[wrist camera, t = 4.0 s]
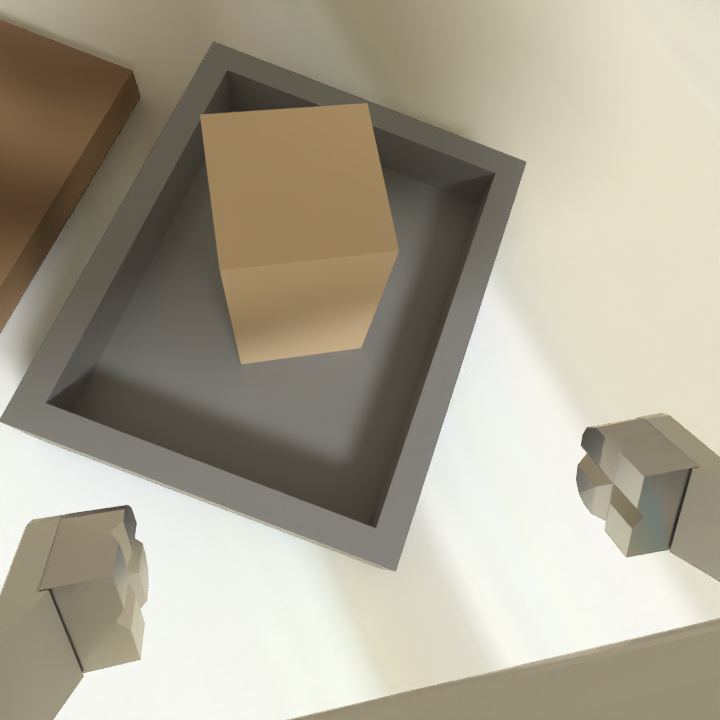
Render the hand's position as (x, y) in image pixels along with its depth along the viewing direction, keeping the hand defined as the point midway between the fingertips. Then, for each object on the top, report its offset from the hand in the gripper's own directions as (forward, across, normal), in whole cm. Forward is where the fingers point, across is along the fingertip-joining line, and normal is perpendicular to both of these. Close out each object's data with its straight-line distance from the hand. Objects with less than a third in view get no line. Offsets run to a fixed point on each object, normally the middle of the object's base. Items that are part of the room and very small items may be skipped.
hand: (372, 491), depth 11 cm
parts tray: (+14, 0, +2) cm, 14 cm away
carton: (+14, 0, +2) cm, 14 cm away
